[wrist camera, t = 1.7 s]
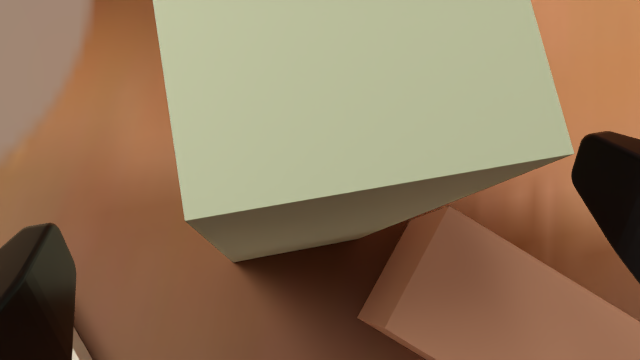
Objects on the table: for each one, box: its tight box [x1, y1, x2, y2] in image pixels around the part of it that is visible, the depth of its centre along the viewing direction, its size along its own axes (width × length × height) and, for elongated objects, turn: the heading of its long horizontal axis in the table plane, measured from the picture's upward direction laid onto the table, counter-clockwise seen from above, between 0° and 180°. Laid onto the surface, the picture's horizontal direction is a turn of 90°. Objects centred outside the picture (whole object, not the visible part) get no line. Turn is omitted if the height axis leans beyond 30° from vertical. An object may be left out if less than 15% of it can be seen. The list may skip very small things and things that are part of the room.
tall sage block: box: [153, 0, 574, 262], centre depth 12 cm, size 4×4×12 cm
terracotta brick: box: [357, 206, 640, 360], centre depth 16 cm, size 8×4×4 cm, turn 59°
